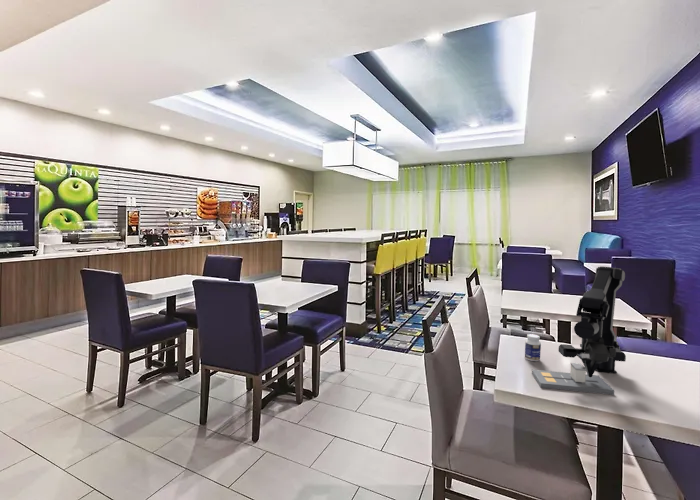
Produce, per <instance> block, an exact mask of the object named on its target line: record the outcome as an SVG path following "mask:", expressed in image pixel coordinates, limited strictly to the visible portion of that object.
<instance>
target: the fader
mask: <svg viewBox="0 0 700 500" xmlns="http://www.w3.org/2000/svg"><path fill="white" fill-rule="evenodd" d="M569 365H570V372H569V373H570V376H571V377H572V378H573V379H574V380H575V382H585V380H586V374H587V372H586V368H585V367H584V364H583V365H582V364H581V363H580V362H579V363H578V362H577V363H576V362H570V364H569Z"/></svg>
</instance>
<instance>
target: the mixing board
mask: <svg viewBox="0 0 700 500" xmlns="http://www.w3.org/2000/svg"><path fill="white" fill-rule="evenodd" d="M531 375H532V376H533V378H534V379H535V382H536V383H537V384H538V385H539V387H540V388H541V389H542V388H544V389H555V390H565V391H574V392H585V393H593V394H604V395H612V396H614V395H615V389H614V388H612V387H611V386H610V385H609V384H608V382H606V381H605V380H604V379H603V378H602V377H601V376H600V375H595V374H593V376H592V377H589V376H588V375H587V373H586V380H585V382H575V380H574V379H573V378H572V377H571V376H570V372H563V371H552V370H543V369H531Z"/></svg>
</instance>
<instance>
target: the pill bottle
mask: <svg viewBox="0 0 700 500" xmlns="http://www.w3.org/2000/svg"><path fill="white" fill-rule="evenodd" d="M526 335H527V336H526V340H525V343H524V344H525V346H524V358H525V360H528V361H532V362H539V361H540V360H541V349H542V347H541V346H542V344H541V341H540V339H541V338H540V336H539V335H537V334H532V333H531V334H530V333H527V334H526Z"/></svg>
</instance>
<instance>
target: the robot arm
mask: <svg viewBox="0 0 700 500" xmlns="http://www.w3.org/2000/svg"><path fill="white" fill-rule="evenodd" d="M625 278H626V273H625V271H624V270H623V269H622V268H618V267H612V266H601V265H600V266H598V267H596V269H595V277H594V281H593V282H592V286H591V288H590V290H588V291H585V292H584V293H583V295H582V297H580V298H579V302H578V306H577V309H576V313H575V315H576V316H577V317H580V318H581V319H580V321H578V322H577V323H575V324H574V326H573V331H574V334H575V335H576V336H577V337H579V338H580V339H581V343H580V344H579V347H580V348H577V347H574V346H573V345H572V344H564V343H561V344H560V345H559V346H558V353H559V354H560V355H562V357H564V358H575V357H578V358H579V359H580V360H581V362H582V364H583V366H584V367H585V368H586V374H587V375H588V376H589V377H592V376H593V375H595V371H597V372H601V373H612V374H618V372H617V370H616V362H624V363H625V362H626V359H627V358H626V354H625V352H623V351H622V350H621V349H620V348H621V347H620V345H619V342H618V341H617V338H618V337H617V335H616V333H615V332H614V330H613V327H614V326H613V325H614V317H615V316H614V315H615V306H616V305H615V304H616V298H617V297H616V295H617V291H618V290H620V288H621V287H622V286H623V282H624V281H625Z"/></svg>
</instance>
